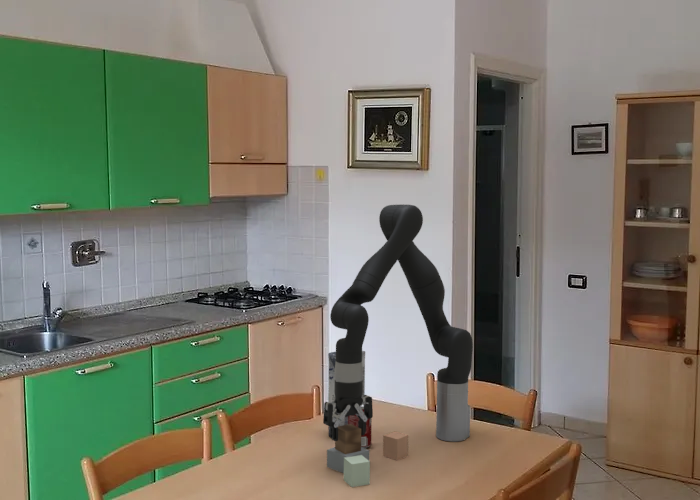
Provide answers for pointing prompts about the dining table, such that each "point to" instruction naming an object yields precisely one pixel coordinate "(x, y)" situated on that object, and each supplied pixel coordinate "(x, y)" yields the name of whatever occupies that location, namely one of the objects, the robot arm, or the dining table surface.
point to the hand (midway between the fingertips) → (348, 437)
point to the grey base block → (342, 458)
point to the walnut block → (348, 439)
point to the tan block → (395, 445)
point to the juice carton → (332, 383)
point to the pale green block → (356, 471)
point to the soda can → (367, 437)
